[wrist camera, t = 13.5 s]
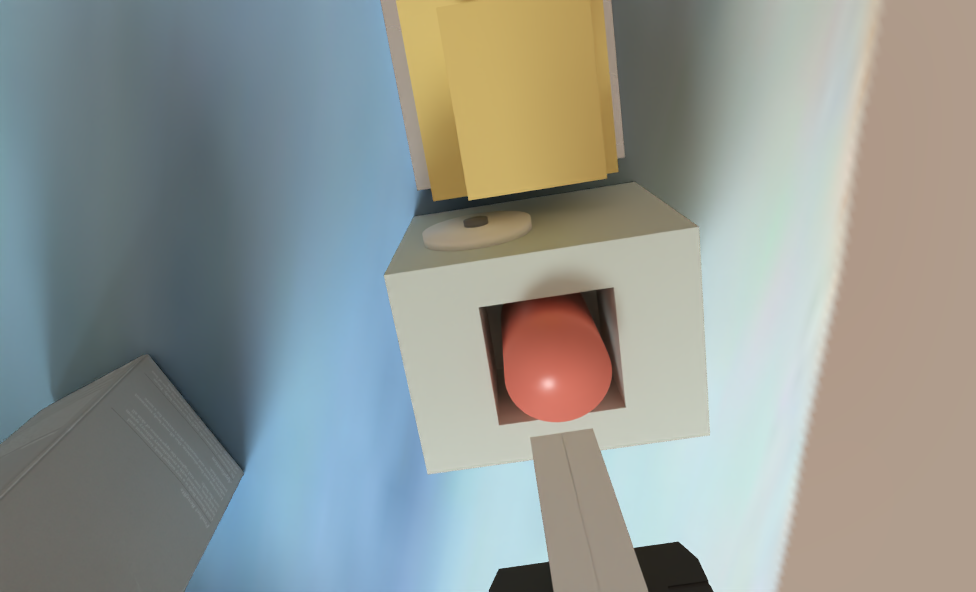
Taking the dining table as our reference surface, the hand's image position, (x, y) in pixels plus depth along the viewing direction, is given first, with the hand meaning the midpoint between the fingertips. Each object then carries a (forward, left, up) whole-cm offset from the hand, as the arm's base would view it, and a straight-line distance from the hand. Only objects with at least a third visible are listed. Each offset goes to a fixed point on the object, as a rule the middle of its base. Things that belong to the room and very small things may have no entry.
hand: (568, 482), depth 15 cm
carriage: (0, +9, -14) cm, 17 cm away
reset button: (0, 0, -10) cm, 10 cm away
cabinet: (0, 0, -15) cm, 15 cm away
